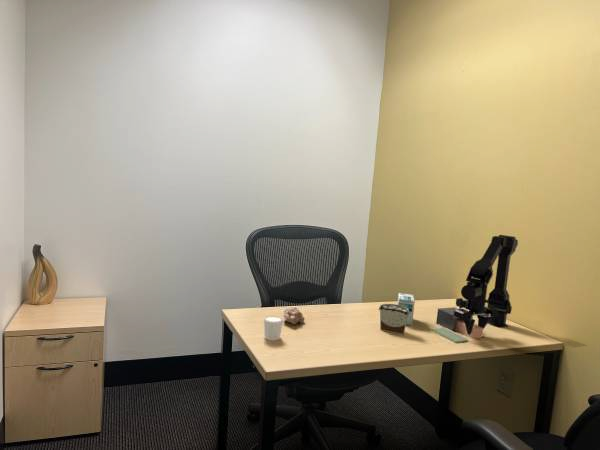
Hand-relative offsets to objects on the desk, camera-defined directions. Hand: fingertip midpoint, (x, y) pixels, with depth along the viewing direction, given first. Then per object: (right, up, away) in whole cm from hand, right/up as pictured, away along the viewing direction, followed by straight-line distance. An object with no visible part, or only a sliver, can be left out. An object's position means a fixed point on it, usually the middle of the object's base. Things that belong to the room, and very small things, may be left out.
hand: (473, 333), depth 187 cm
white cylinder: (-80, +2, -17) cm, 82 cm away
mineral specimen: (-73, +4, +1) cm, 73 cm away
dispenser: (-5, +1, +11) cm, 12 cm away
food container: (-32, +1, +1) cm, 32 cm away
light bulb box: (-25, +2, +14) cm, 29 cm away
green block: (-10, 0, -1) cm, 10 cm away
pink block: (-2, 0, +4) cm, 5 cm away
